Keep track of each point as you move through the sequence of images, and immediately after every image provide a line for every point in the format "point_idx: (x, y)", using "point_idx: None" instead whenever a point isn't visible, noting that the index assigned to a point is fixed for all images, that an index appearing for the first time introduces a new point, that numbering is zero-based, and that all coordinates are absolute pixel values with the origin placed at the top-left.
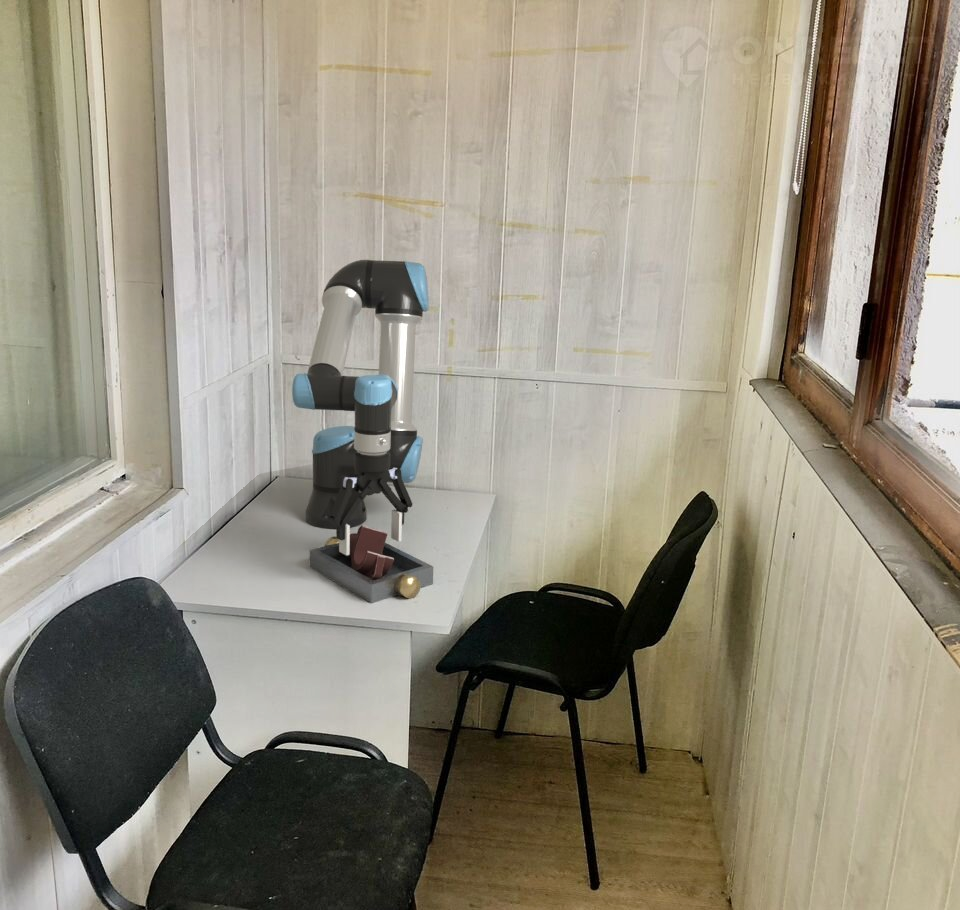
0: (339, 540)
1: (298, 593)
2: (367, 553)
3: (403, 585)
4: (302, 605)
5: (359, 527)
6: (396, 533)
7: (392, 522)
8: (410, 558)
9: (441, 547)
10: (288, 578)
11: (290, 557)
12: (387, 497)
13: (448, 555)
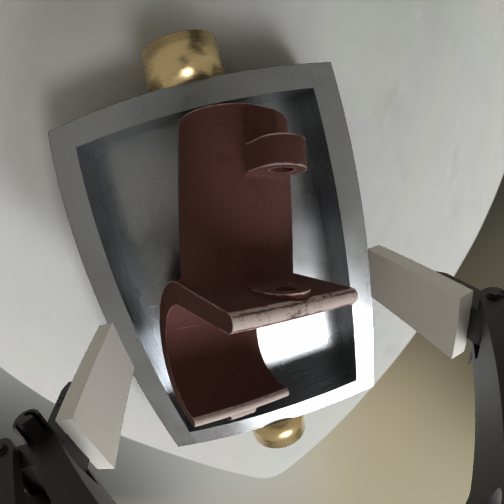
0: (86, 355)
1: (22, 310)
2: (193, 424)
3: (258, 440)
4: (33, 368)
5: (269, 136)
6: (387, 294)
7: (413, 280)
8: (357, 328)
9: (464, 160)
10: (8, 207)
11: (57, 51)
12: (491, 399)
13: (457, 213)
